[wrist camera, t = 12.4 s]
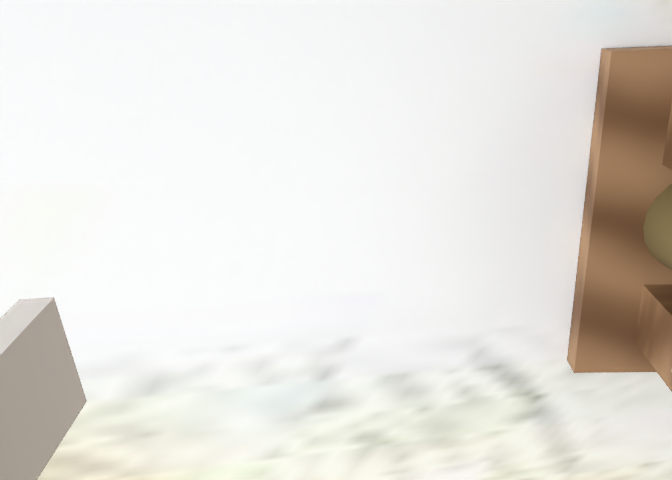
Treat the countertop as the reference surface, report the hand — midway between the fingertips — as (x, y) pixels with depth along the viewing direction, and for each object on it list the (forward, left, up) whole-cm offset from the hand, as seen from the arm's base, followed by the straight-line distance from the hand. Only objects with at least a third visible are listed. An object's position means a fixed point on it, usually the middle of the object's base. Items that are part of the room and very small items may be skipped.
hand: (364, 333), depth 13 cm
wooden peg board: (+7, +19, -25) cm, 32 cm away
